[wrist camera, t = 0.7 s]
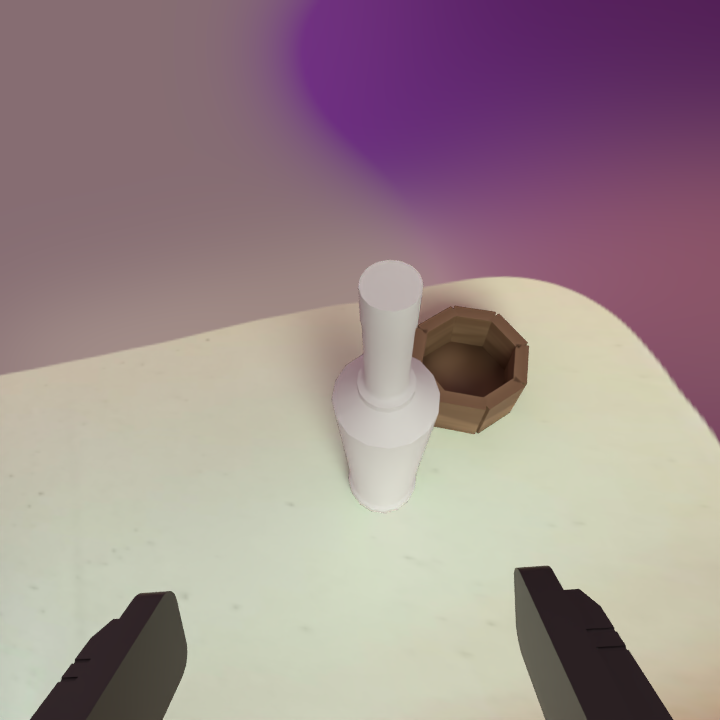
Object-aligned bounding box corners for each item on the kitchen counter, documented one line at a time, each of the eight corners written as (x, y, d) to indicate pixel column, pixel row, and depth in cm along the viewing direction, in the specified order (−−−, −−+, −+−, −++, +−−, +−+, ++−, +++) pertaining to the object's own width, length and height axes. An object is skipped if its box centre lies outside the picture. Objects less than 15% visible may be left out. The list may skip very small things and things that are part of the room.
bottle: (418, 513, 35) (488, 351, 13) (350, 517, 35) (307, 361, 13) (411, 448, 37) (460, 220, 16) (348, 452, 37) (309, 228, 16)
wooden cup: (400, 420, 39) (402, 395, 34) (417, 332, 43) (421, 300, 39) (509, 440, 37) (525, 417, 33) (515, 348, 42) (530, 317, 37)
